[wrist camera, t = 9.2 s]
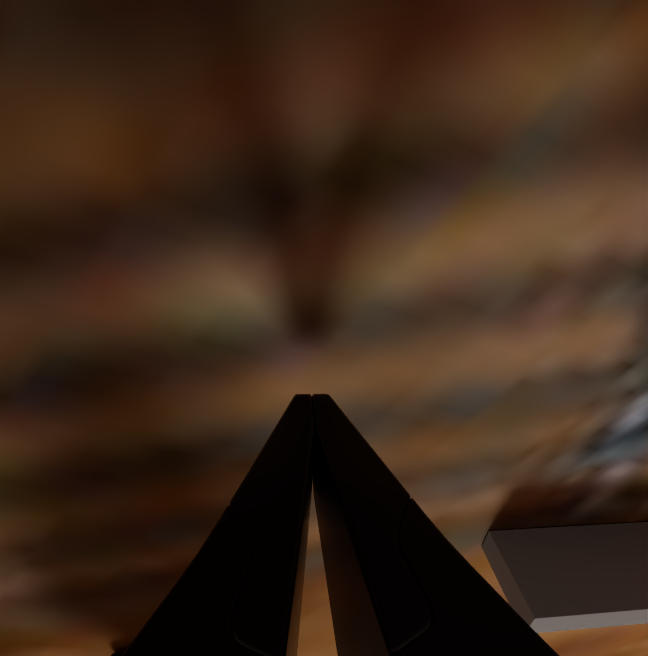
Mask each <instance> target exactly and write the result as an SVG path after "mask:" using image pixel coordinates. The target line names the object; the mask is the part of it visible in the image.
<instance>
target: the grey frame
mask: <svg viewBox="0 0 648 656" xmlns="http://www.w3.org/2000/svg"><path fill="white" fill-rule="evenodd" d="M482 549H483V551H484V553H485V555H486V557H487V559H488V561H489V563H490V565H491V567H492V569H493V571H494V573H495V575H496V578H497V580H498V582H499V584H500V586H501V588H502V590H503V592H504V594H505V596H506V598H507V600H508V602H509V604H510V606H511V607H512V608H513V609H514V610H515V611H516V612H517V613H518V614H519V615H520V616H521V617H522V618H523V619H524V620H525V621H526V622H527V624H528V625H529V626H530V627H531V628H532V629H533V630H534V631H535V632H536V633H541V632H552V631H564V630H575V629H586V628H598V627H609V626H620V625H632V624H643V623H648V522H636V523H619V524H602V525H584V526H567V527H550V528H533V529H515V530H498V531H489V532H488V534H487V536H486V539H485V541H484V543H483V545H482Z"/></svg>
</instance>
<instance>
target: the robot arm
mask: <svg viewBox="0 0 648 656" xmlns="http://www.w3.org/2000/svg"><path fill="white" fill-rule="evenodd" d="M312 481H313V492H314V500H315V507H316V513H317V520H318V527H319V533H320V540H321V547H322V554H323V560H324V567H325V574H326V580H327V587H328V594H329V600H330V607H331V614H332V621H333V627H334V634H335V641H336V647H337V654H338V656H559V655H558V654H557V653H556V652H555V651H554V650H553V649H552V648H551V647H550V646H549V645H548V644H547V643H546V642H545V641H544V640H543V639H542V638H541V637H540V636H539V635H538V634H537V633H536V632H535V631H534V630H533V629H532V628H531V627H530V626H529V625H528V624H527V622H526V621H525V620H524V619H523V618H522V617H521V616H520V615H519V614H518V613H517V612H516V611H515V610H514V609H513V608H512V607H511V606H510V605H509V604H508V603H507V602H506V601H505V600H504V599H503V598H502V597H501V596H500V595H499V594H498V593H497V592H496V591H495V589H494V588H493V587H492V586H491V585H490V584H489V583H488V582H487V581H486V580H485V579H484V578H483V577H482V576H481V575H480V574H479V573H478V572H477V571H476V570H475V569H474V568H473V567H472V566H471V565H470V564H469V563H468V561H467V560H466V559H465V558H464V557H463V556H462V555H461V554H460V553H459V552H458V551H457V550H456V549H455V548H454V546H453V545H452V544H451V543H450V542H449V541H448V540H447V539H446V538H445V537H444V535H443V534H442V533H441V532H440V531H439V530H438V528H437V527H436V526H435V525H434V524H433V522H432V521H431V520H430V519H429V518H428V517H427V515H426V514H425V513H424V512H423V511H422V509H421V508H420V507H419V506H418V504H417V503H416V502H415V501H414V499H412V498H411V499H410V495H409V493H408V492H407V491H406V490H405V488H404V487H403V486H402V485H401V483H400V482H399V481H398V480H397V478H396V477H395V476H394V475H393V473H392V472H391V471H390V470H389V468H388V467H387V466H386V465H385V464H384V462H383V461H382V460H381V459H380V457H379V456H378V455H377V454H376V452H375V451H374V450H373V449H372V447H371V446H370V445H369V444H368V442H367V441H366V440H365V439H364V437H363V436H362V435H361V434H360V433H359V431H358V430H357V429H356V428H355V426H354V425H353V424H352V423H351V421H350V420H349V419H348V418H347V416H346V415H345V414H344V413H343V411H342V410H341V409H340V408H339V406H338V405H337V404H336V403H335V402H334V400H333V399H332V398H331V397H330V395H328V394H314V395H313V396H311V395H310V394H296V395H295V396H294V397H293V399H292V400H291V402H290V404H289V405H288V407H287V409H286V410H285V412H284V414H283V415H282V417H281V419H280V420H279V422H278V424H277V425H276V427H275V429H274V430H273V432H272V434H271V435H270V437H269V439H268V440H267V442H266V443H265V445H264V447H263V448H262V450H261V452H260V453H259V455H258V457H257V458H256V460H255V462H254V463H253V465H252V467H251V468H250V470H249V472H248V473H247V475H246V477H245V478H244V480H243V482H242V483H241V485H240V486H239V488H238V490H237V491H236V493H235V495H234V496H233V498H232V500H231V501H230V506H227V508H226V509H225V511H224V513H223V514H222V516H221V518H220V519H219V521H218V523H217V524H216V526H215V527H214V529H213V530H212V532H211V534H210V535H209V537H208V538H207V540H206V541H205V543H204V544H203V546H202V547H201V549H200V551H199V552H198V554H197V555H196V556H195V558H194V559H193V561H192V562H191V563H190V565H189V566H188V567H187V569H186V570H185V572H184V573H183V574H182V576H181V577H180V579H179V580H178V581H177V583H176V584H175V586H174V587H173V588H172V590H171V591H170V592H169V594H168V595H167V596H166V597H165V599H164V600H163V601H162V603H161V604H160V605H159V607H158V608H157V609H156V611H155V612H154V613H153V615H152V616H151V617H150V619H149V620H148V621H147V623H146V624H145V625H144V627H143V628H142V629H141V631H140V632H139V633H138V635H137V636H136V637H135V639H134V640H133V641H132V643H131V644H130V645H129V647H128V648H127V649H126V651H125V652H117V653H113V654H112V655H111V656H297V648H298V637H299V626H300V616H301V605H302V594H303V583H304V572H305V561H306V550H307V539H308V528H309V517H310V506H311V494H312Z"/></svg>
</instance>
